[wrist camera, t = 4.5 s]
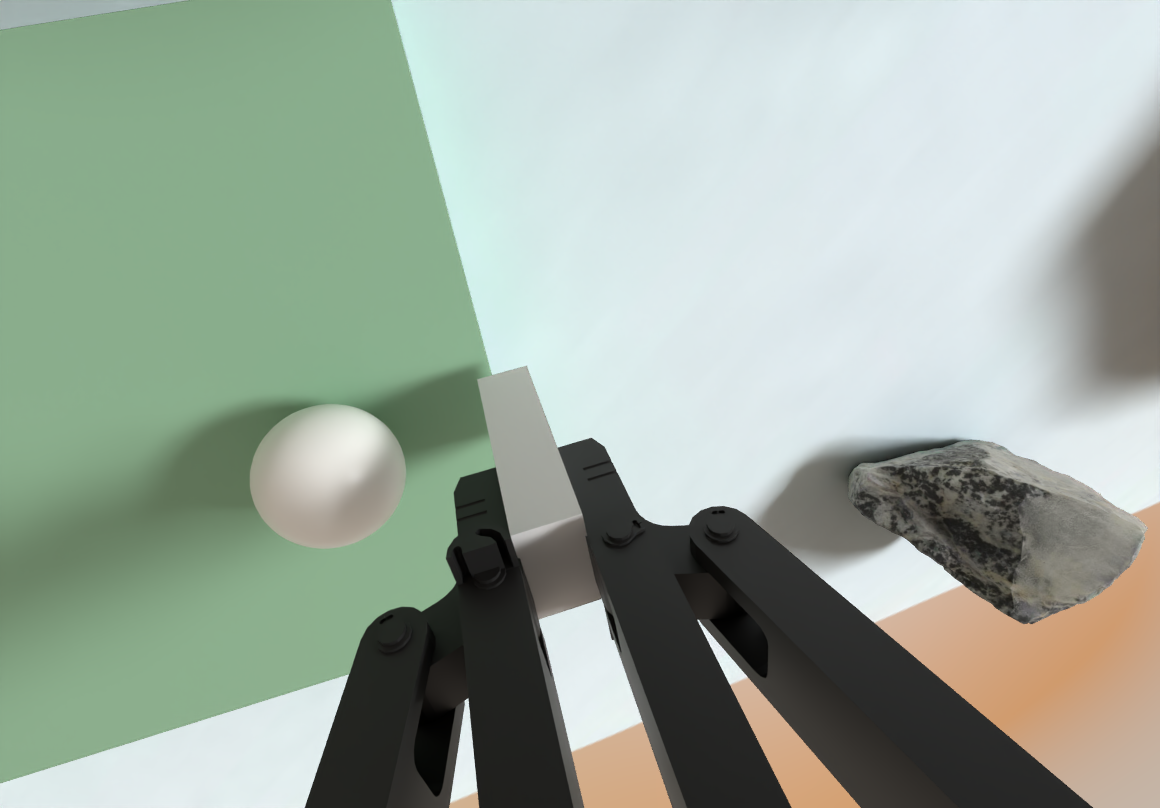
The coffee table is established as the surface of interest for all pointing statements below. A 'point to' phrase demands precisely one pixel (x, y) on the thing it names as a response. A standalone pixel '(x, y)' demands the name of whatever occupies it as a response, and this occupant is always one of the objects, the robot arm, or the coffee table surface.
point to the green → (211, 356)
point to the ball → (327, 476)
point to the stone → (1002, 525)
